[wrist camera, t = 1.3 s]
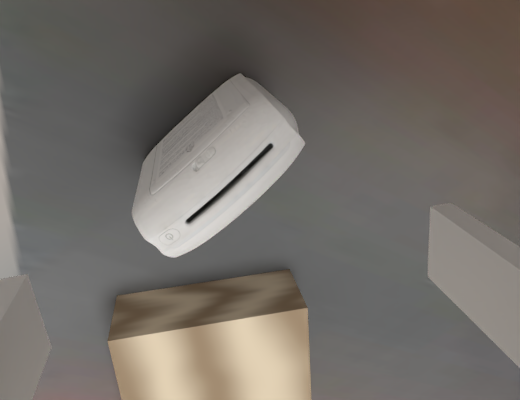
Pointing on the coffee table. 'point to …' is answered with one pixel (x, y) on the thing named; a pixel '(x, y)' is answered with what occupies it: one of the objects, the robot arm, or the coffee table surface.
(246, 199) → the photo printer
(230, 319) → the birch box
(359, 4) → the coffee table surface
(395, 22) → the coffee table surface
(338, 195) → the coffee table surface
